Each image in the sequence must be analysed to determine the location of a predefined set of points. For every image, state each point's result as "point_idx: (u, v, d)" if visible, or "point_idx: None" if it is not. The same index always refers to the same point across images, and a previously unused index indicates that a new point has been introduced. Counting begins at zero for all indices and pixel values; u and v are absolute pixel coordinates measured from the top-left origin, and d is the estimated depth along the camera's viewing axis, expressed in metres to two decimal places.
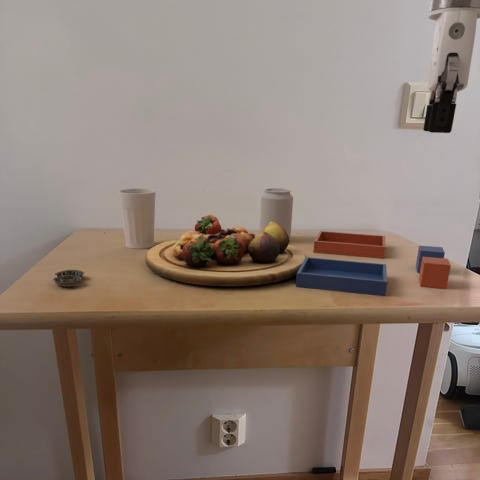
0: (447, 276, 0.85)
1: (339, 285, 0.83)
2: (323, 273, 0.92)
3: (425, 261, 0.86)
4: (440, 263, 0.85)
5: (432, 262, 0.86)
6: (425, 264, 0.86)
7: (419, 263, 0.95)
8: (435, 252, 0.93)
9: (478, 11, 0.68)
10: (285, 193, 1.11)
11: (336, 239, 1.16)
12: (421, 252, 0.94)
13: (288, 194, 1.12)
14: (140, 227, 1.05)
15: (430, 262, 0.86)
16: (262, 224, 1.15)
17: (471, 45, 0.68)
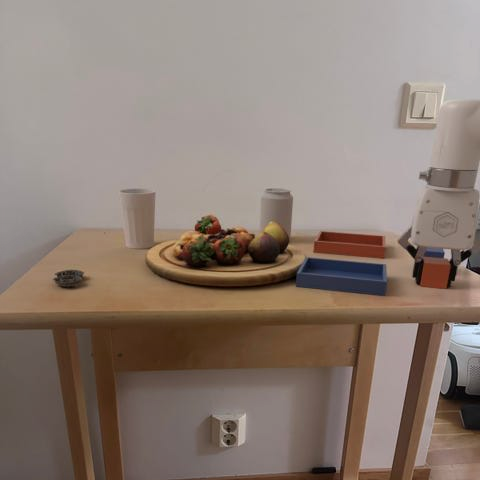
0: (447, 276, 0.85)
1: (339, 285, 0.83)
2: (323, 273, 0.92)
3: (425, 261, 0.86)
4: (440, 263, 0.85)
5: (432, 262, 0.86)
6: (425, 264, 0.86)
7: None
8: (435, 252, 0.93)
9: (434, 188, 0.80)
10: (285, 193, 1.11)
11: (336, 239, 1.16)
12: None
13: (288, 194, 1.12)
14: (140, 227, 1.05)
15: (430, 262, 0.86)
16: (262, 224, 1.15)
17: (416, 214, 0.83)
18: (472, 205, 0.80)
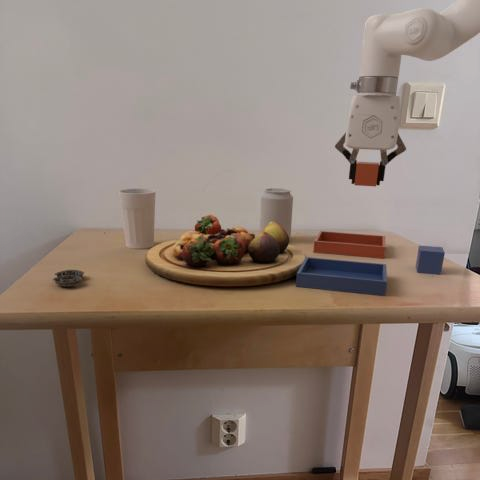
0: (376, 174, 0.99)
1: (339, 285, 0.83)
2: (323, 273, 0.92)
3: None
4: (370, 163, 0.99)
5: (364, 163, 1.00)
6: (357, 164, 1.00)
7: (419, 263, 0.95)
8: (435, 252, 0.93)
9: (362, 94, 0.94)
10: (285, 193, 1.11)
11: (336, 239, 1.16)
12: (421, 252, 0.94)
13: (288, 194, 1.12)
14: (140, 227, 1.05)
15: (362, 163, 1.00)
16: (262, 224, 1.15)
17: (348, 119, 0.97)
18: (393, 108, 0.94)
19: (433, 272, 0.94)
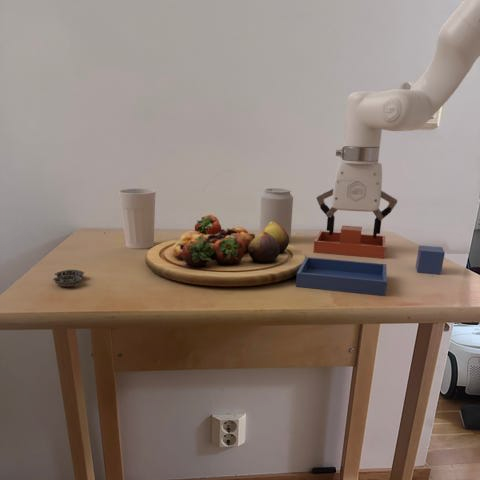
0: (359, 240, 1.08)
1: (339, 285, 0.83)
2: (323, 273, 0.92)
3: (342, 228, 1.09)
4: (353, 229, 1.08)
5: (347, 229, 1.08)
6: (341, 230, 1.08)
7: (419, 263, 0.95)
8: (435, 252, 0.93)
9: (346, 162, 1.02)
10: (285, 193, 1.11)
11: (336, 239, 1.16)
12: (421, 252, 0.94)
13: (288, 194, 1.12)
14: (140, 227, 1.05)
15: (346, 228, 1.08)
16: (262, 224, 1.15)
17: (334, 183, 1.04)
18: (376, 175, 1.01)
19: (433, 272, 0.94)
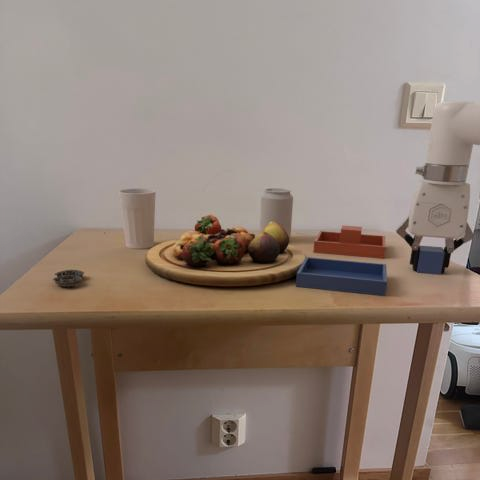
0: (359, 240, 1.08)
1: (339, 285, 0.83)
2: (323, 273, 0.92)
3: (342, 228, 1.09)
4: (353, 229, 1.08)
5: (347, 229, 1.08)
6: (341, 230, 1.08)
7: (419, 263, 0.95)
8: (435, 252, 0.93)
9: (429, 182, 0.88)
10: (285, 193, 1.11)
11: (336, 239, 1.16)
12: (421, 252, 0.94)
13: (288, 194, 1.12)
14: (140, 227, 1.05)
15: (346, 228, 1.08)
16: (262, 224, 1.15)
17: (413, 205, 0.91)
18: (464, 197, 0.88)
19: (433, 272, 0.94)
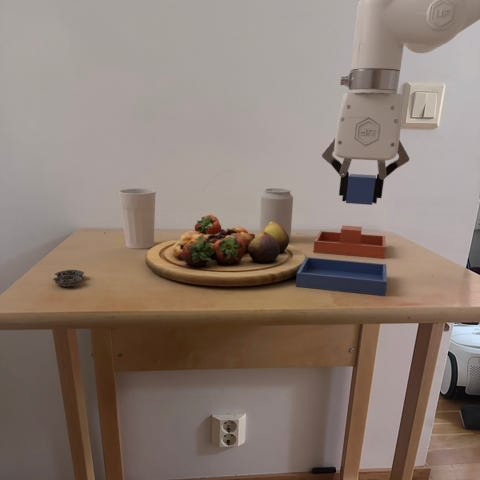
0: (359, 240, 1.08)
1: (339, 285, 0.83)
2: (323, 273, 0.92)
3: (342, 228, 1.09)
4: (353, 229, 1.08)
5: (347, 229, 1.08)
6: (341, 230, 1.08)
7: (348, 192, 0.82)
8: (365, 178, 0.80)
9: (354, 92, 0.76)
10: (285, 193, 1.11)
11: (336, 239, 1.16)
12: (349, 178, 0.81)
13: (288, 194, 1.12)
14: (140, 227, 1.05)
15: (346, 228, 1.08)
16: (262, 224, 1.15)
17: (338, 122, 0.78)
18: (394, 109, 0.75)
19: (364, 202, 0.82)
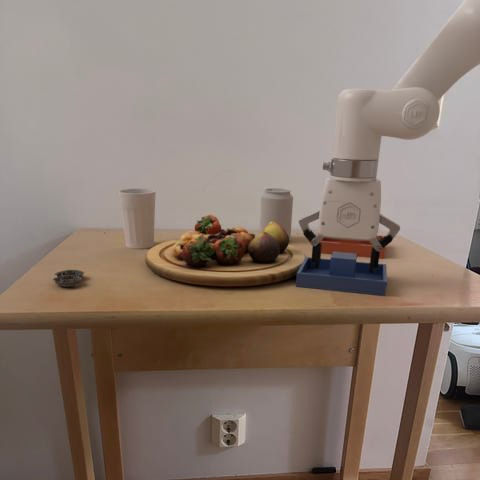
0: None
1: (339, 285, 0.83)
2: (323, 273, 0.92)
3: None
4: None
5: None
6: None
7: (330, 271, 0.86)
8: (346, 259, 0.85)
9: (335, 178, 0.80)
10: (285, 193, 1.11)
11: (336, 239, 1.16)
12: (331, 259, 0.86)
13: (288, 194, 1.12)
14: (140, 227, 1.05)
15: None
16: (262, 224, 1.15)
17: (321, 205, 0.83)
18: (373, 195, 0.80)
19: None
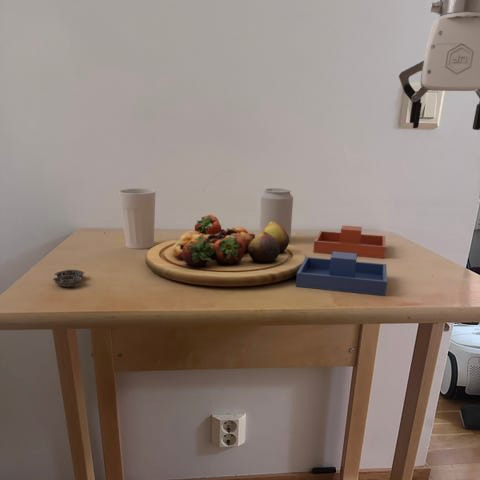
0: (359, 240, 1.08)
1: (339, 285, 0.83)
2: (323, 273, 0.92)
3: (342, 228, 1.09)
4: (353, 229, 1.08)
5: (347, 229, 1.08)
6: (341, 230, 1.08)
7: (330, 271, 0.86)
8: (346, 259, 0.85)
9: (447, 16, 0.74)
10: (285, 193, 1.11)
11: (336, 239, 1.16)
12: (331, 259, 0.86)
13: (288, 194, 1.12)
14: (140, 227, 1.05)
15: (346, 228, 1.08)
16: (262, 224, 1.15)
17: (428, 50, 0.76)
18: None
19: None
